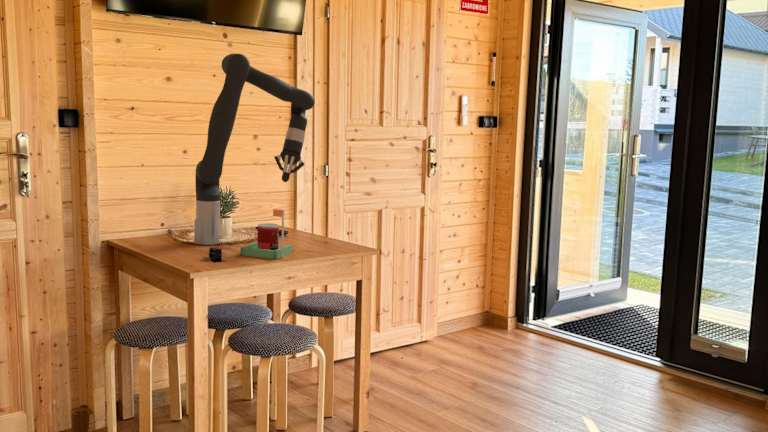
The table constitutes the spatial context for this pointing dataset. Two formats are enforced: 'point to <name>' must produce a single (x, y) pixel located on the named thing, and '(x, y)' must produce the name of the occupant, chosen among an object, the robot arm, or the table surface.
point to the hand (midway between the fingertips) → (284, 181)
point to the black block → (215, 255)
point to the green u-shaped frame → (264, 253)
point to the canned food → (268, 236)
